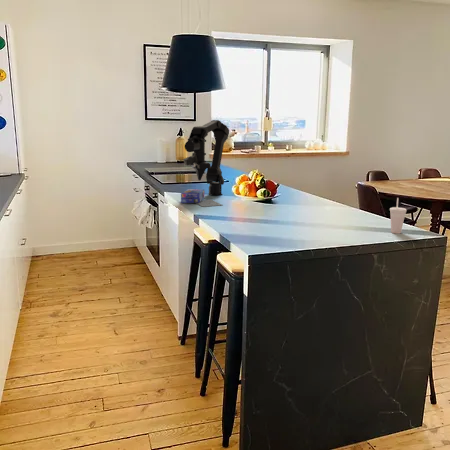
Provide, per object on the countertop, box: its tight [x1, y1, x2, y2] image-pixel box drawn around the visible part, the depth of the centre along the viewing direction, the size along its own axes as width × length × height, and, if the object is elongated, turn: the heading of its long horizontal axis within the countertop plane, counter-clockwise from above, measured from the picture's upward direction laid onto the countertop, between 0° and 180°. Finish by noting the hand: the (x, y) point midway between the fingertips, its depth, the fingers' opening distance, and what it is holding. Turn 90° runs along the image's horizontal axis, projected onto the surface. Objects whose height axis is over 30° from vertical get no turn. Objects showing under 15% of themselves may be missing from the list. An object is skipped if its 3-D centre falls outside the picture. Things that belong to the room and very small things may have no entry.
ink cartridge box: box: [180, 188, 205, 204], centre depth 248 cm, size 10×6×14 cm
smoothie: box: [389, 197, 407, 235], centre depth 188 cm, size 6×6×14 cm
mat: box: [195, 199, 224, 208], centre depth 245 cm, size 11×16×1 cm
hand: (199, 180), depth 254 cm, fingers closed
